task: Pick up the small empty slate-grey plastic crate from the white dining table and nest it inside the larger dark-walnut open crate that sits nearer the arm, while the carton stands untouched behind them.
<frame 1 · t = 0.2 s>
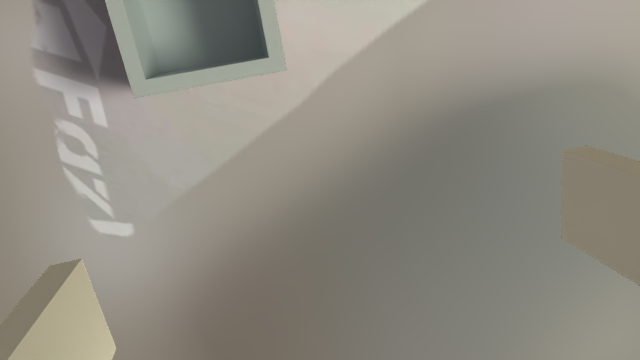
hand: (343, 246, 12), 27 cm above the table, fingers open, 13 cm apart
small crate: (201, 10, 34), on the table
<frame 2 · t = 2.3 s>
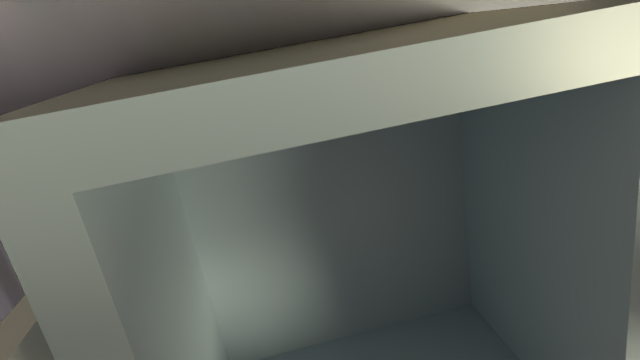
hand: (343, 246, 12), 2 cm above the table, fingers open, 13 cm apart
small crate: (329, 209, 14), on the table
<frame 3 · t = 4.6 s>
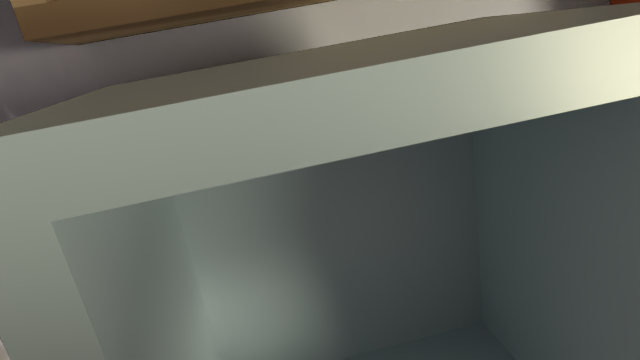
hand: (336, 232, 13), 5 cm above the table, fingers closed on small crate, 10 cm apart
small crate: (333, 223, 13), point 5 cm above the table, touching gripper
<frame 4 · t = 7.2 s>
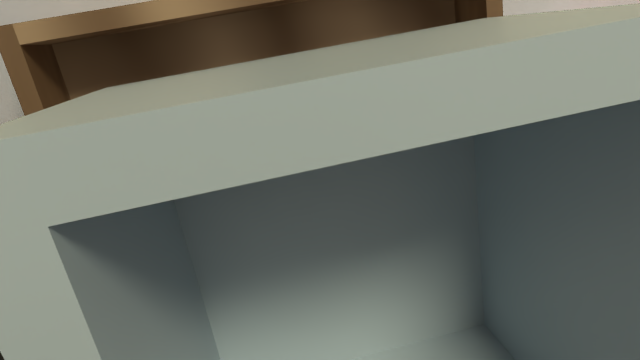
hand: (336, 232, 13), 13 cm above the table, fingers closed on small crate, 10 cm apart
crate: (287, 141, 25), on the table
small crate: (334, 225, 13), point 12 cm above the table, touching gripper
when the fingers open (3 cm above the table, at t = 9.8 s): small crate drops 2 cm, resting on crate.
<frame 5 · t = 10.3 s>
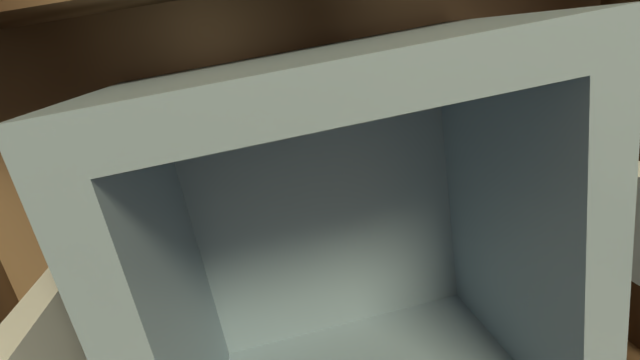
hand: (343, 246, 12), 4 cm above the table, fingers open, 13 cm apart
crate: (320, 200, 16), on the table
small crate: (321, 205, 15), point 1 cm above the table, touching crate
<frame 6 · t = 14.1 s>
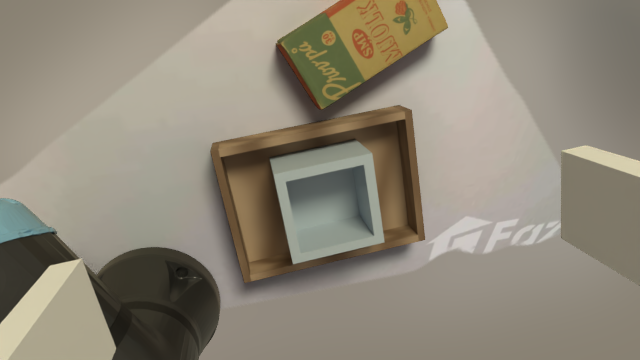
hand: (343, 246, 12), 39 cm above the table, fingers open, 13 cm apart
carton: (356, 35, 49), on the table
crate: (319, 187, 53), on the table
small crate: (320, 188, 52), point 1 cm above the table, touching crate
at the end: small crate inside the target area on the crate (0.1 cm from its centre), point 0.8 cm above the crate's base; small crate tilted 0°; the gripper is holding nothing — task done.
